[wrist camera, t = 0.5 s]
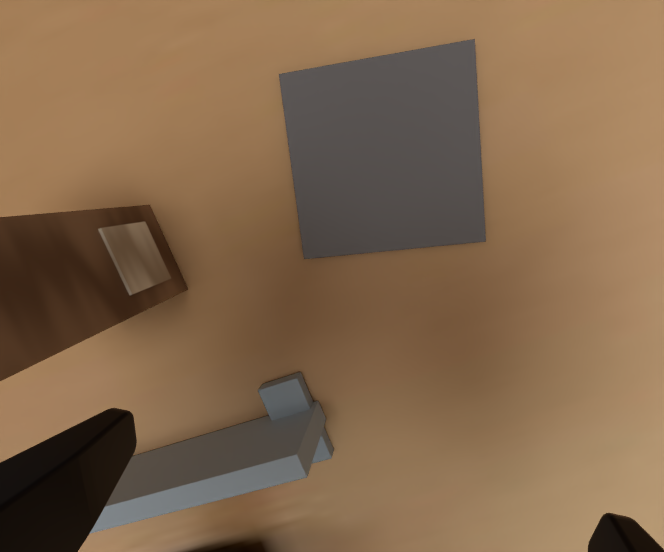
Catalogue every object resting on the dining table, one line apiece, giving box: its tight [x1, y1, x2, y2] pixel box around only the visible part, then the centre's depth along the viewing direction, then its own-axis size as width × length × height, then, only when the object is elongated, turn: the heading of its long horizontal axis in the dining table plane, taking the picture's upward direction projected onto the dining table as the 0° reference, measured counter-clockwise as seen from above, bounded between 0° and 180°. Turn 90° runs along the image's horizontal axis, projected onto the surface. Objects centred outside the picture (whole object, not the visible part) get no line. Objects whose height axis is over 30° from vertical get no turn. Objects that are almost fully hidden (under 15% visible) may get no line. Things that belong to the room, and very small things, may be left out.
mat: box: [279, 39, 486, 259], centre depth 21 cm, size 9×9×1 cm
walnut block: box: [0, 205, 188, 381], centre depth 19 cm, size 5×5×12 cm
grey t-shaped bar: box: [89, 372, 334, 534], centre depth 24 cm, size 18×5×5 cm, turn 112°
